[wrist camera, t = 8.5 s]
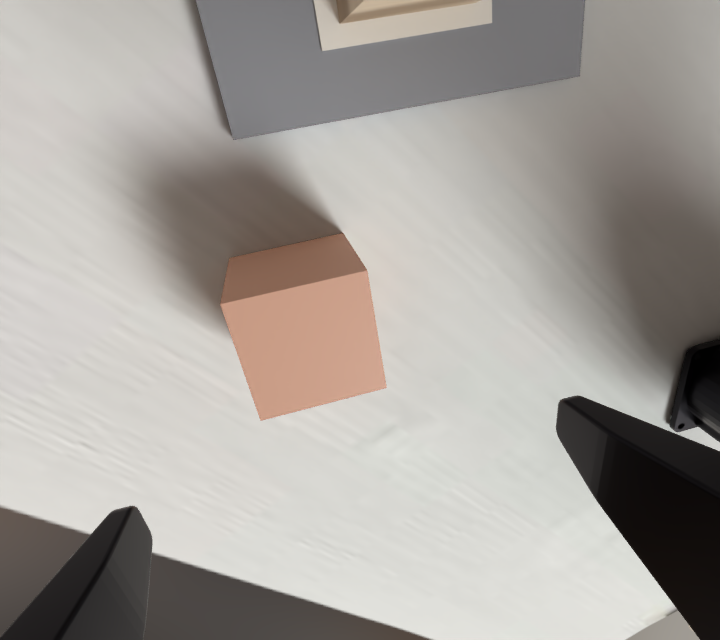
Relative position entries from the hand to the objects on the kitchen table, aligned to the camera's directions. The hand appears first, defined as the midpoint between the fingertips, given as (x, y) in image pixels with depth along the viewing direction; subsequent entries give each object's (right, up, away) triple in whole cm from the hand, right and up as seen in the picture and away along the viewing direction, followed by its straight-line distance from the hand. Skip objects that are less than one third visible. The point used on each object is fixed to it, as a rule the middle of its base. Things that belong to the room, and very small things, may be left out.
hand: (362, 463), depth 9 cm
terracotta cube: (-3, +4, +11) cm, 12 cm away
